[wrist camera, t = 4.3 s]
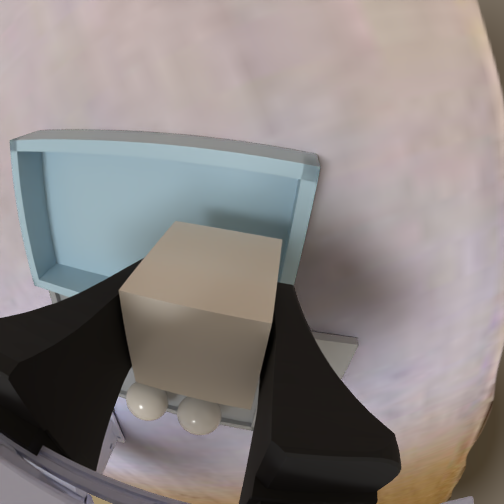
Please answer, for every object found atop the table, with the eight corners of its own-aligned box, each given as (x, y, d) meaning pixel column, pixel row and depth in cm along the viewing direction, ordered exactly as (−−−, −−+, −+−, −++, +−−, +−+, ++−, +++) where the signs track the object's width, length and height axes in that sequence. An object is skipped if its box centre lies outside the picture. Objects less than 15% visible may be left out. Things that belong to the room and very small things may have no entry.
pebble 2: (224, 412, 22) (215, 446, 20) (184, 403, 23) (173, 435, 20) (226, 390, 21) (217, 427, 18) (183, 380, 21) (170, 415, 18)
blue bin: (280, 315, 17) (277, 347, 15) (56, 264, 18) (34, 285, 16) (316, 154, 13) (320, 167, 11) (39, 130, 14) (9, 140, 12)
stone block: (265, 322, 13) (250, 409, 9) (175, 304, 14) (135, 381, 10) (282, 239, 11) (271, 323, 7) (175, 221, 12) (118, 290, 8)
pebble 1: (174, 400, 23) (163, 433, 20) (138, 389, 23) (123, 420, 20) (172, 377, 21) (158, 412, 18) (132, 366, 21) (115, 398, 18)
